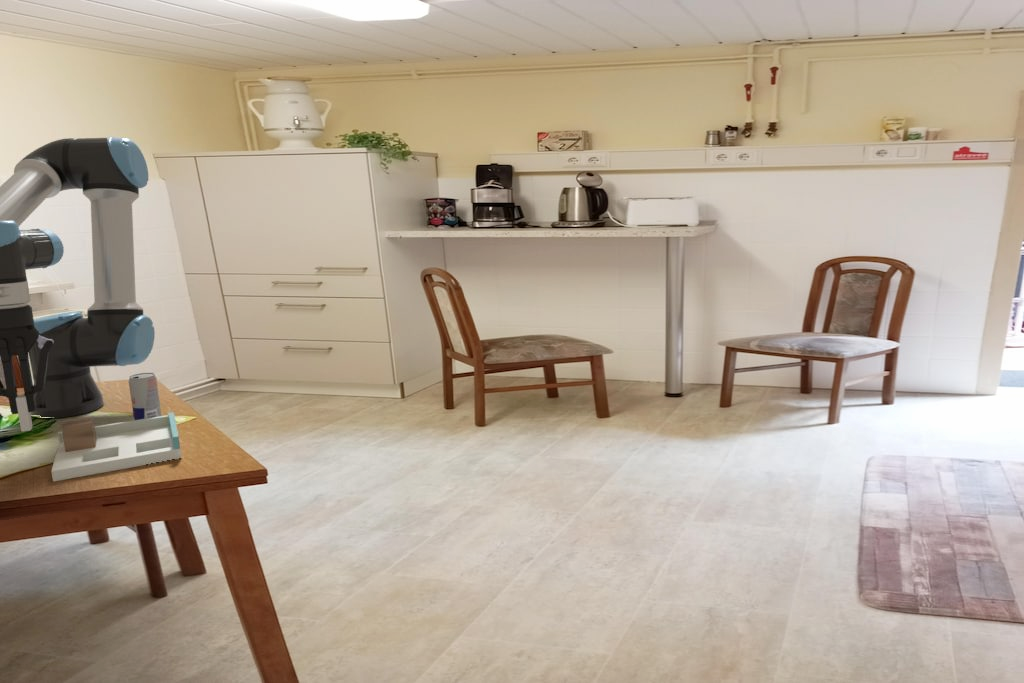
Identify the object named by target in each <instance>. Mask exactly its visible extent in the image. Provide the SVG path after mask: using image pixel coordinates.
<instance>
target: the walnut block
mask: <svg viewBox="0 0 1024 683" xmlns="http://www.w3.org/2000/svg"><path fill="white" fill-rule="evenodd" d="M94 420H95V419H94V416H93V415H92V416H84V417H77V418H70V419H64V420H63V421H62V424H61V431H62V434H63V440H64V446H65V452H70V451H76V450H82V449H88V448H94V447H96V441H97V439H96V432H95V426H96V425H95V421H94Z"/></svg>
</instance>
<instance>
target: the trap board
mask: <svg viewBox="0 0 1024 683" xmlns="http://www.w3.org/2000/svg"><path fill="white" fill-rule="evenodd" d="M175 418H176V417H175V413H174V411H171V412H168V413H167V415H162V416H159V417H152V418H146V419H139V420H134V419H133V420H126V421H121V422H114V423H113V422H112V423H109V424H102V425H94V426H95V432H96V439H97V441H96V447H94V448H88V449H82V450H76V451H70V452H65V446H64V440H63V434H62V430H61V431H58V432H57V436H58V441H59V444H58V447H57V451H56V454H55V457H54V461H53V464H52V467H51V477H52V482H53V483H54V482H57V481H58V482H60V481H65V480H69V479H75V478H80V477H85V476H92V475H98V474H103V473H109V472H114V471H118V470H119V471H120V470H124V469H125V470H126V469H130V468H135V467H136V468H137V467H142V466H146V464H148V465H152V464H151V463H153V464H157V463H156V462H159V463H163V462H162V461H164V462H168V461H167V460H170V461H173V460H172V459H175V460H180V459H179V458H181V459H182V451H181V443H180V436H179V432H178V427H177V422H176V419H175Z"/></svg>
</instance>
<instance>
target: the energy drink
mask: <svg viewBox="0 0 1024 683" xmlns="http://www.w3.org/2000/svg"><path fill="white" fill-rule="evenodd" d="M128 386H129V393H130V400H131V407H132V413H133V414H132V415H133V420H139V419H146V418H152V417H159V416H163V414H162V409H161V401H160V394H159V387H158V379H157V376H156V373H154V372H141V373H136V374H132V375H130V376H129V379H128Z"/></svg>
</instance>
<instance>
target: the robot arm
mask: <svg viewBox="0 0 1024 683" xmlns="http://www.w3.org/2000/svg"><path fill="white" fill-rule="evenodd" d="M148 182H149V170H148V165H147V161H146V158H145V156H144V154H143V153H142V150H141V149H140V147H139V146H138V145H137V143H135V141H133V140H132V139H129V138H126V137H114V136H109V137H87V138H86V137H85V138H84V137H83V138H81V137H79V138H77V137H76V138H61V139H56V140H53V141H51V142H48V143H46V144H44V145H41V146H40V147H38V148H36V149H35V150H33V151H32V152H30V153H28V154H27V155H26V156H24V157H23V158H22V159H20V161H18V163H16V164H15V167H14V168H13V174H12V175H11V176H10V177H9V178H8V179H6V181H4V182H3V183H2V184H1V185H0V361H1V364H2V368H3V369H2V370H3V375H4V377H3V378H4V382H5V386H4V385H3V382H2V380H1V379H0V397H5V398H7V399H8V402H9V409H10V413H11V414H12V415H18V420H19V424H20V425H19V426H20V431H21V432H28V431H31V430H32V428H33V422H32V421H33V420H32V416H31V415H40V416H41V417H55V418H54V419H60V418H61V419H63V418H68V417H73V416H79V415H83V414H87V413H90V412H92V411H95V410H98V409H100V408H101V407H103V406H104V405H105V402H104V396H103V393H102V391H101V390H100V388H99V387H98V385H97V383H96V381H95V379H94V377H93V376H92V372H91V367H116V366H119V367H125V366H126V367H127V366H132V365H140V364H141V363H144V362H145V361H146V360H147V358H149V356H150V354H151V353H152V351H153V347H154V343H155V331H156V330H155V327H154V326H155V325H153V321H152V319H151V318H150V317H149V316H147V315H144V308H143V307H142V306H140V305H139V304H138V302H137V298H136V275H135V274H136V272H135V271H136V270H135V248H134V245H135V242H134V223H133V222H134V221H133V219H134V218H133V203H134V202H136V201H137V200H138V199H139V198H140V193H139V192H140V190H139V189H143V188H145V187H146V186H147V185H148ZM75 189H78V190H79V189H80V190H82V195H83V196H84V197H86V198H87V199H88V200H89V202H90V218H91V220H90V221H91V243H92V244H91V246H92V268H93V270H92V271H93V294H94V296H93V298H94V300H93V301H94V302H93V304H91V306H89V307H88V308H87V317H84V315H83V314H82V313H81V312H80V311H69V312H64V313H63V312H61V313H58V314H53V315H48V316H43V317H39V318H35V319H34V315H33V314H34V313H33V308H32V306H31V305H29V304H28V303H29V302H31V296H30V290H29V283H28V278H27V271H26V270H34V269H36V270H37V269H46V268H48V267H52V266H54V265H56V264H58V263H60V261H61V260H62V258H63V257H64V253H65V252H64V250H65V249H64V244H63V241H62V240H61V239H60V237H59V236H58V234H56V233H55V232H54V231H51V230H47V229H40V228H31V229H20V226H21V225H22V224H23V223H24V222H25V221H26V220H27V219H28V218H29V217H30V216H31V215H32V214H33V212H35V210H37V209H38V208H39V207H40V206H41V205H42V203H43V202H44V201H45V200H46V199H51V198H54V197H56V196H57V195H58V194H59V193H60V192H63V191H67V190H75ZM13 356H17V359H18V362H19V369H20V375H21V380H22V386H23V392H24V393H22V394H18V393H19V390H18V388H17V382H16V375H15V370H14V369H15V368H14V364H13Z"/></svg>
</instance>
